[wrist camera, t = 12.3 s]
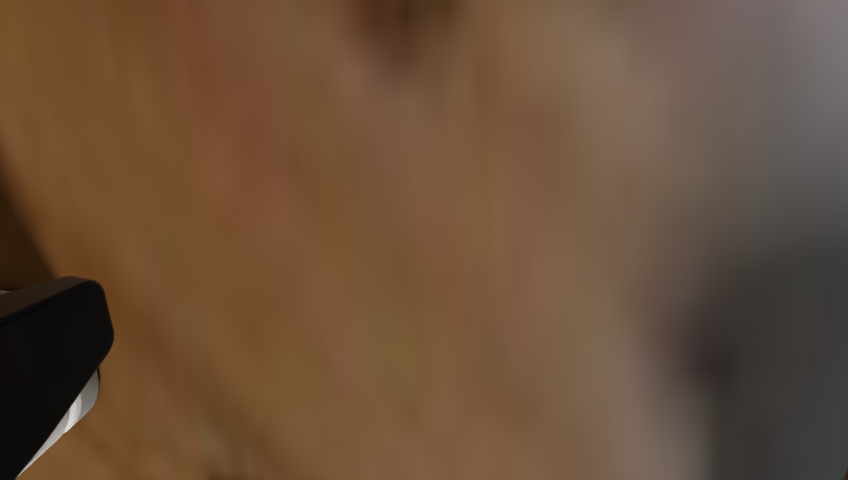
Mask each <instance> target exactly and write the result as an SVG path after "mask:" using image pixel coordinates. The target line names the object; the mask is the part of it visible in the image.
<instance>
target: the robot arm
mask: <svg viewBox="0 0 848 480" xmlns="http://www.w3.org/2000/svg"><path fill="white" fill-rule="evenodd" d="M113 341H114V329H113V325H112V321H111V317H110V312H109V308H108V304H107V300H106V296H105V292H104V289H103V287H102V286H101V285H100V283H98V282H96V281H94V280H90V279H85V278H80V277H75V276H66V277H62V278H58V279H55V280H51V281H47V282H44V283H40V284H36V285H32V286H29V287H25V288H21V289H18V290H14V291H10V292H7V293H3V294H0V480H15V479H16V478H17V477H18V475H19V474H20V473H21V472H22V471H23V469H24V468H25V467H26V466H27V465H28V463H29V462H30V461H31V460H32V459H33V457H34V456H35V455H36V454H37V452H38V451H39V450H40V449H41V447H42V446H43V445H44V444H45V442H46V441H47V440H48V438H49V437H50V436H51V434H52V433H53V431H54V430H55V429H56V427H57V426H58V424H59V423H60V422H61V420H62V419H63V417H64V416H65V414H66V413H67V412H68V410H69V409H70V407H71V406H72V404H73V403H74V402H75V400H76V399H77V397H78V396H79V394H80V393H81V392H82V390H83V389H84V387H85V386H86V384H87V383H88V381H89V380H90V379H91V377H92V376H93V374H94V373H95V371H96V370H97V369H98V367H99V366H100V364H101V363H102V361H103V360H104V359H105V357H106V356H107V354H108V353H109V351H110V350H111V347H112V345H113ZM843 480H848V468H847V471H846V473H845V475H844V478H843Z"/></svg>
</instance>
